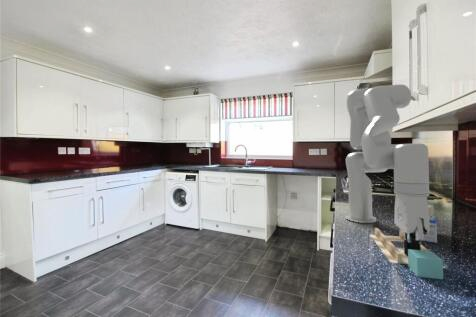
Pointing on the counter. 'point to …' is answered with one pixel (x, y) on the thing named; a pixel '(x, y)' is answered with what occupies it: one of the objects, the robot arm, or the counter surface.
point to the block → (425, 264)
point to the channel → (392, 246)
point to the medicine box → (432, 230)
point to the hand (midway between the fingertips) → (412, 255)
